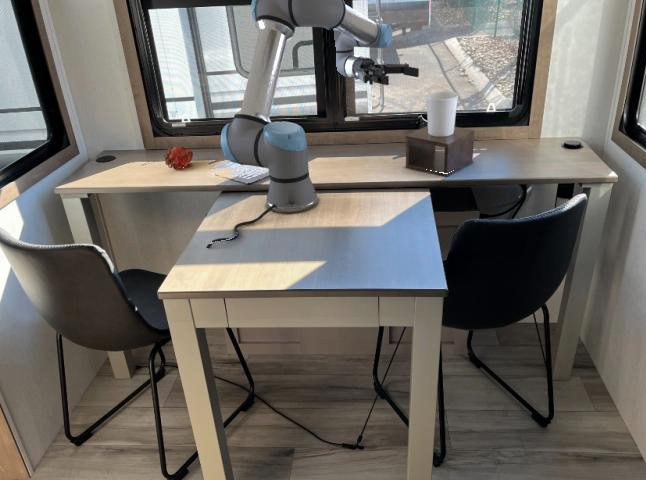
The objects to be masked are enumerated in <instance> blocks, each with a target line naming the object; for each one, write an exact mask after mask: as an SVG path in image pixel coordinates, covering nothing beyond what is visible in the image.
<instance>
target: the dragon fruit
mask: <svg viewBox="0 0 646 480" xmlns="http://www.w3.org/2000/svg"><path fill="white" fill-rule="evenodd" d="M164 153H165V154H164V163H165V165H166V166H167V167H168V168H169V169H172V168H173V169H174V170H178V168H179V169H182V170H183V169H185V168H186V167H190V166H191V164H192V163H191V162H192V160H193V158H194V153H193V151H191V150H190V149H189V148H188V147H184V146H183V145H181V144H180V145H179V146H178V147H177V146H176V145H174V146H173V147H172V148H167V149H166V151H165V152H164ZM185 165H186V166H185ZM183 167H184V168H183Z"/></svg>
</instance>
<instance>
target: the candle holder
mask: <svg viewBox="0 0 646 480" xmlns="http://www.w3.org/2000/svg"><path fill="white" fill-rule="evenodd" d="M425 96H426V118H427V119H426V120H427V126H428V134H429V135H431V136H436V137H445V136H450V135H452V134H453V133H454V127H456V117H457V109H458V107H457V106H458V99H459V94H458V93H457V92H455V91H448V90H439V91H438V90H437V91H432V92H429V93H427V94H426V95H425Z"/></svg>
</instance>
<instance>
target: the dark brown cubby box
mask: <svg viewBox="0 0 646 480" xmlns="http://www.w3.org/2000/svg"><path fill="white" fill-rule="evenodd" d="M475 132H476V130H475V129H470V128H464V127H459V126H455V127H454V133H453V134H452V135H450V136H445V137H436V136H431V135H429V134H428V125H426V126H424V127H422V128H419V129H417V130H415V131H413V132H411V133H409V134H406V135H405V168H406V169H410V170H414V171H419V172H421V173H422V172H423V173H427V174H431V175H436V176H440V177H444V178H448V177H450V176H452V175H453V174H455V173H456V172H459V171H460V170H462V169H463V168H465V167H467V166H468V165H470V164H472V163H473V159H474V147H475V146H474V144H475V134H476V133H475ZM436 147H441V148H444V152H443V151H438V150H436ZM426 169H427V170H426ZM430 170H432V171H430ZM453 170H454V171H453ZM435 171H437V172H435ZM451 171H452V172H451ZM439 172H444V173H448V174H443V173H439ZM449 172H450V173H449Z"/></svg>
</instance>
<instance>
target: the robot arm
mask: <svg viewBox="0 0 646 480" xmlns="http://www.w3.org/2000/svg"><path fill="white" fill-rule="evenodd" d="M250 7H251V9H250V10H252V12H251V16H252V19H253V21H254V22H255V27H256V30H257V31H258V35H257V39H256V43H255V46H254V47H255V48H254V52H253V57H252V61H251V65H250V69H249V74H248V78H247V81H246V85H245V91H244V95H243V98H242V103H241V108H240V110H239V111H237V112H235V113H234V115H233V119H232V122H229V123H226V124H225V125H224V126H223V128H222V130H221V133H220V147H221V150H222V152H223V155H224V156H225V158H226V160H228V161H231V162H233V163H237V164H240V165H250V166H256V167H262V168H268V169H269V185H268V193H267V196H266V206H267V209H266V210H264V211H263V212H262V213H261V214H260V215H258V216H257V217H256V218H254V219H252V220H248V221H242V222H239V223H237V224H236V225H234V227H233V231H234V233H235V235H236V234H237V233H236V232H238V234H237V236H235V235H234V236H235V237H234V236H233V237H234V238H232V239H230V240H226V239H229V238H230V237H220V238H215V239H213V240H211V241H212V242H215V241H220V242H222V241H221V240H226V241H225V242H232V241H234V240H236V239H238V238H239V236H240V233H239V230H238V228H240V227H241V226H247V225H252V224H255V223H257V222H258V221H260V220H262V218H264V217H265V216H266V215H267V214H268V213H269V212H271V211H273V212H275V213H282V214H293V213H301V212H304V211H308V210H309V209H311V208H313V207H315V206H316V205H317V203H318V192H317V191H316V190H315V187H314V185H313V182H312V180H311V177H310V171H309V170H310V168H309V157H308V142H307V137H306V132H305V130H304V128H303V127H302V126H301V125H299V124H297V123H295V122H290V121H273V122H272V121H271V120H270V116H271V111H272V107H273V104H274V99H275V94H276V90H277V86H278V83H279V82H278V81H279V77H280V73H281V68H282V65H283V61H284V56H285V51H286V47H287V43H288V41H289V40H292V39H293V38H294V36H295V31H296V28H324V29H326V30H331V29H333V31H334V40H335V47H336V67H337V71H338V72H339V73H340V74H341V75H343V76H342V77H348V78H351V79H354V80H355V81H357V80H360V81H361V82H362V83H364V84H369V85H370V86H372V85H373V84H374V83H375V84H380V85H384V86H389V85H390V77H389V75H397V74H399V75H400V74H403V75H404V76H409V77H414V78H419V75H420V72H419V71H420V68H418V67H414V66H410V64H409V63H407V62H404V63H389V62H382V63H376V62H375V61H374V60H373V59H372V58H371V57H366V56H361V55H356V54H354V51H353V49H354V48H370V49H371V48H372V49H387V48H389V47H390V46H391V44H392V41H393V29H392V26H391V25H390V24H386V23H377V22H375V21H374V20H372V19H371V18H369V17H367V16H365V15H364V14H362V13H360V12H358V11H357V10H355V9H353V8H352V7H350V6H349V5H348V4H346V3H345V1H344V0H251V5H250ZM220 242H219V243H220ZM214 244H215V243H213V244H209V243H208V244H207V245H206V247H205V249H206V248H208V249H210V248H211V247H212V245H214ZM208 249H207V250H208Z"/></svg>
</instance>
